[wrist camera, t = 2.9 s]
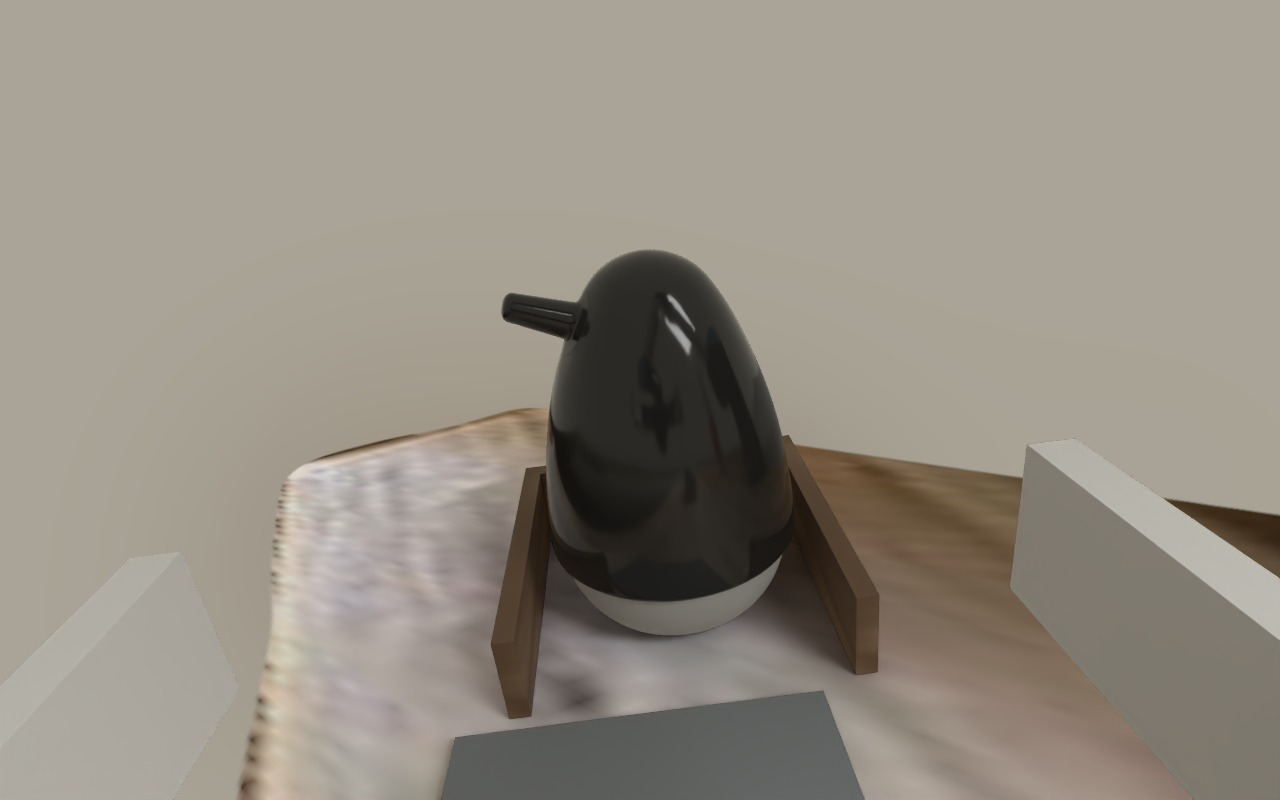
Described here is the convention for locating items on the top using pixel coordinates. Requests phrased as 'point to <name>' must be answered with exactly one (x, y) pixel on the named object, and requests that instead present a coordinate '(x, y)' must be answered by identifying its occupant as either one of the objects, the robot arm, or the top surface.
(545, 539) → the walnut caddy
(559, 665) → the top surface
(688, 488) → the pump dispenser
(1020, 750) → the top surface
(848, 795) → the grey mat
